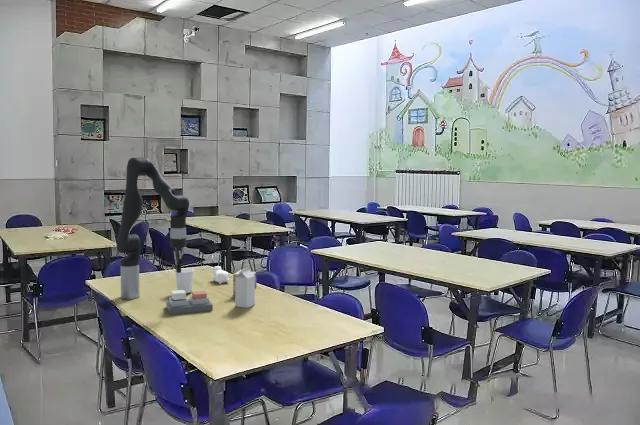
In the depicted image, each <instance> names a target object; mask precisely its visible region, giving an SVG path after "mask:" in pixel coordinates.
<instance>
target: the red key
mask: <svg viewBox="0 0 640 425" xmlns="http://www.w3.org/2000/svg"><path fill="white" fill-rule="evenodd" d="M191 296H192V298H193V299H203V298H207V296H208V293H207V292H206V291H205V290H200V291H199V290H198V291H192V292H191Z"/></svg>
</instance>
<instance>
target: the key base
mask: <svg viewBox="0 0 640 425" xmlns="http://www.w3.org/2000/svg"><path fill="white" fill-rule="evenodd" d="M168 298H169V300H166V301H165V306H166V309H167V312H168V313H169V315H170V316H172V315H181V314H193V313H203V312H212V311H213V307H214V306H213V303H212V302H211V301H210V298H209V297H208V295H207V298H203V299H193V298H192V295H190V296H189V298H188V297H186V299H178V300H173V299H172V297H168Z"/></svg>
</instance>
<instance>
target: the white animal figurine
mask: <svg viewBox="0 0 640 425" xmlns="http://www.w3.org/2000/svg"><path fill="white" fill-rule="evenodd" d="M212 272H213V274H214V275H213V278H212V280H211V281H212V283H213V282H217V283H218V284H219V285H221V284H224V283H226V284H230V274H229V272H228V271H225V270H224V269H222V267H221V266H219V265H217V266H214V267H213V269H212Z"/></svg>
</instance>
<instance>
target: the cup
mask: <svg viewBox="0 0 640 425" xmlns="http://www.w3.org/2000/svg"><path fill="white" fill-rule="evenodd" d="M174 272H175V281H176V288H177V289H176V290H184V291H185V292H186V295H190V294H192V292H193V284H194V272H195V270H194V269H193V268H187V267H186V268H181V273H177V272H176V269H175V271H174Z"/></svg>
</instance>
